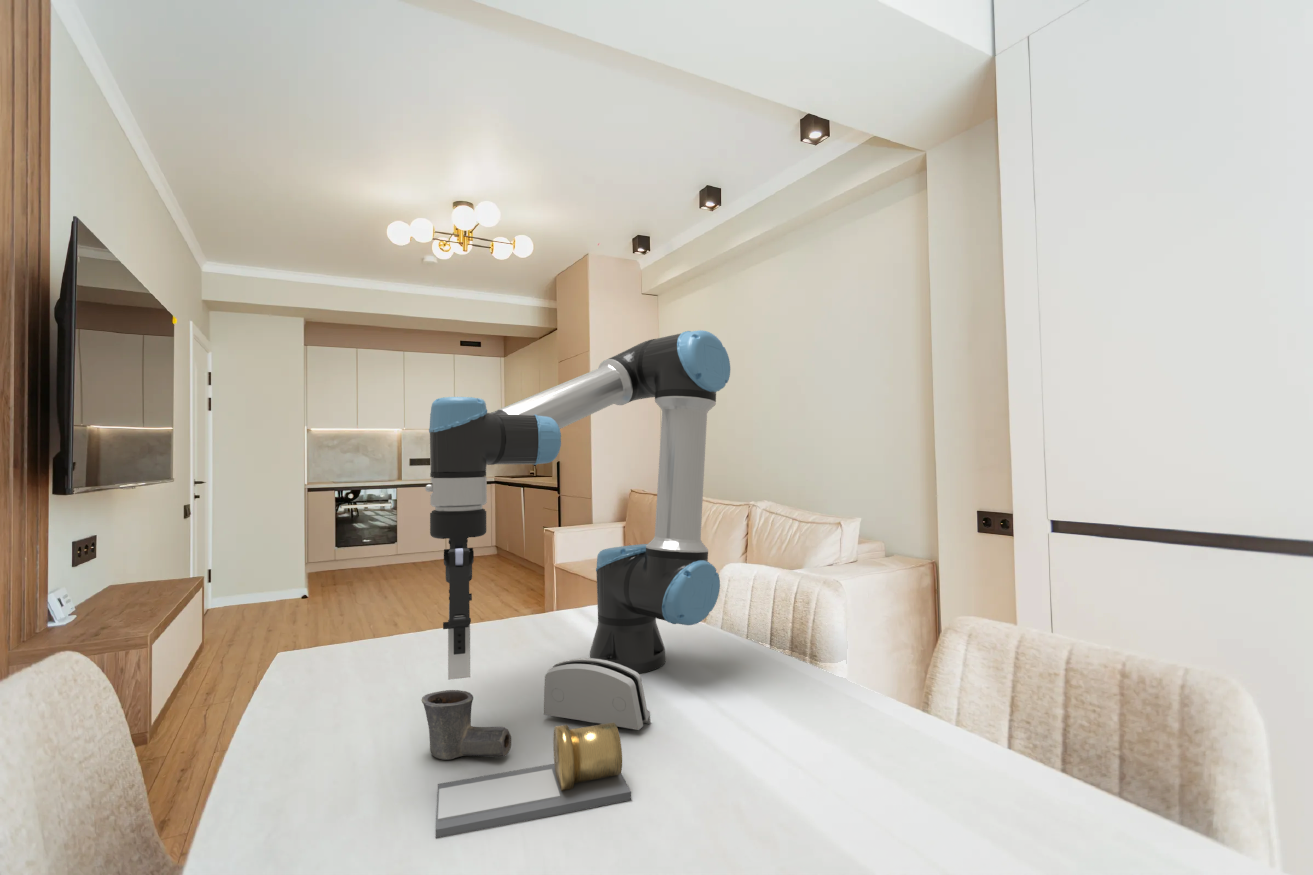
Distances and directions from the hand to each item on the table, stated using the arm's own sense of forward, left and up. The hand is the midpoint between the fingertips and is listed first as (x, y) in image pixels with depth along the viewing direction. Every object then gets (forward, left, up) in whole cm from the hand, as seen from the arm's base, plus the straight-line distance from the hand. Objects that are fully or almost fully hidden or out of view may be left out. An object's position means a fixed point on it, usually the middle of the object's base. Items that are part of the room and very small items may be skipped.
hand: (458, 661), depth 87 cm
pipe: (-1, 0, -13) cm, 13 cm away
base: (-8, +14, -13) cm, 21 cm away
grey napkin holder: (-20, -4, -14) cm, 25 cm away
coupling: (-16, +14, -13) cm, 25 cm away
